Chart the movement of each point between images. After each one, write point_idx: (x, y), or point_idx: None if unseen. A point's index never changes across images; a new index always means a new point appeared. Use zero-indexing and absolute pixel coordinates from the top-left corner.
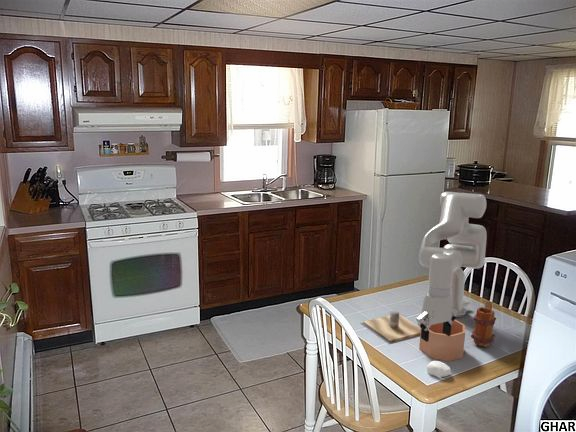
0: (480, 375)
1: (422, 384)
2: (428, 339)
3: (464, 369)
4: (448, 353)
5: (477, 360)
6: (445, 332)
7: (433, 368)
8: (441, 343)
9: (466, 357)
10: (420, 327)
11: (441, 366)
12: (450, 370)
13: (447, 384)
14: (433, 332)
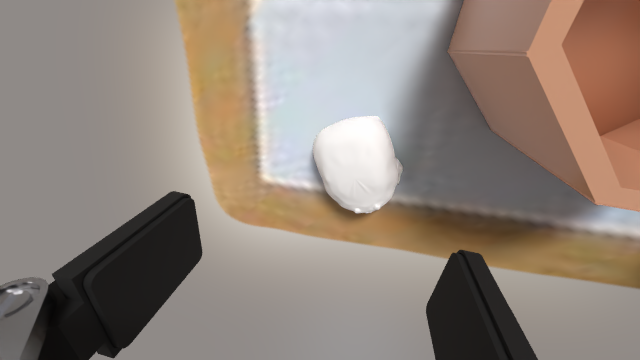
0: None
1: (251, 170)
2: (186, 271)
3: (469, 203)
4: (506, 135)
5: None
6: (442, 296)
7: (319, 169)
8: (514, 113)
9: None
10: (10, 290)
11: (346, 192)
12: (374, 210)
13: (324, 215)
14: (555, 40)
